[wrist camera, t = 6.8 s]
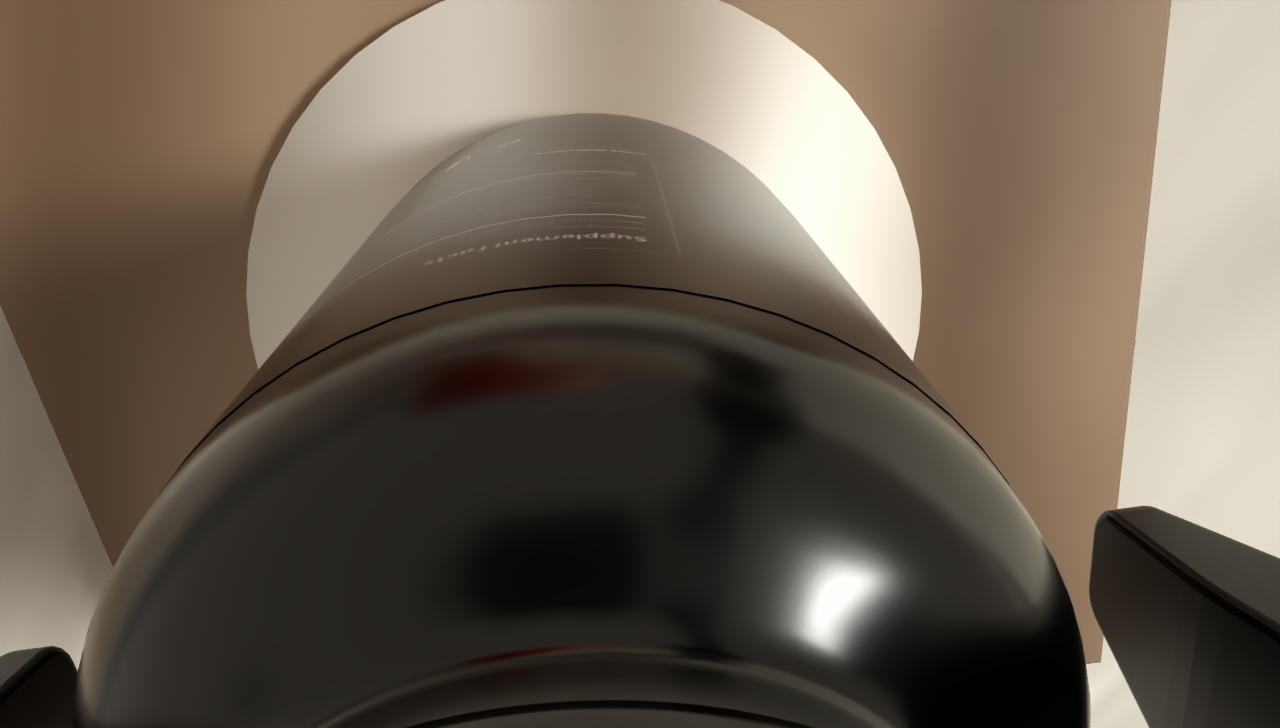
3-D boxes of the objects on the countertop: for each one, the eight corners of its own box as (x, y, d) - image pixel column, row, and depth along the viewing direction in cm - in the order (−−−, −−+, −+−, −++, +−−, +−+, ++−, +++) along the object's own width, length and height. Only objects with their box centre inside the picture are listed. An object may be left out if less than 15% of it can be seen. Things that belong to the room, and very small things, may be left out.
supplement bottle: (888, 412, 15) (1738, 1744, 4) (514, 587, 16) (336, 2033, 5) (696, -1, 12) (1644, 465, 1) (263, 242, 13) (-1341, 1677, 2)
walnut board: (1143, -357, 12) (1229, -404, 11) (1063, 610, 19) (1108, 673, 17) (-130, -188, 12) (-239, -208, 11) (230, 716, 19) (196, 789, 17)
